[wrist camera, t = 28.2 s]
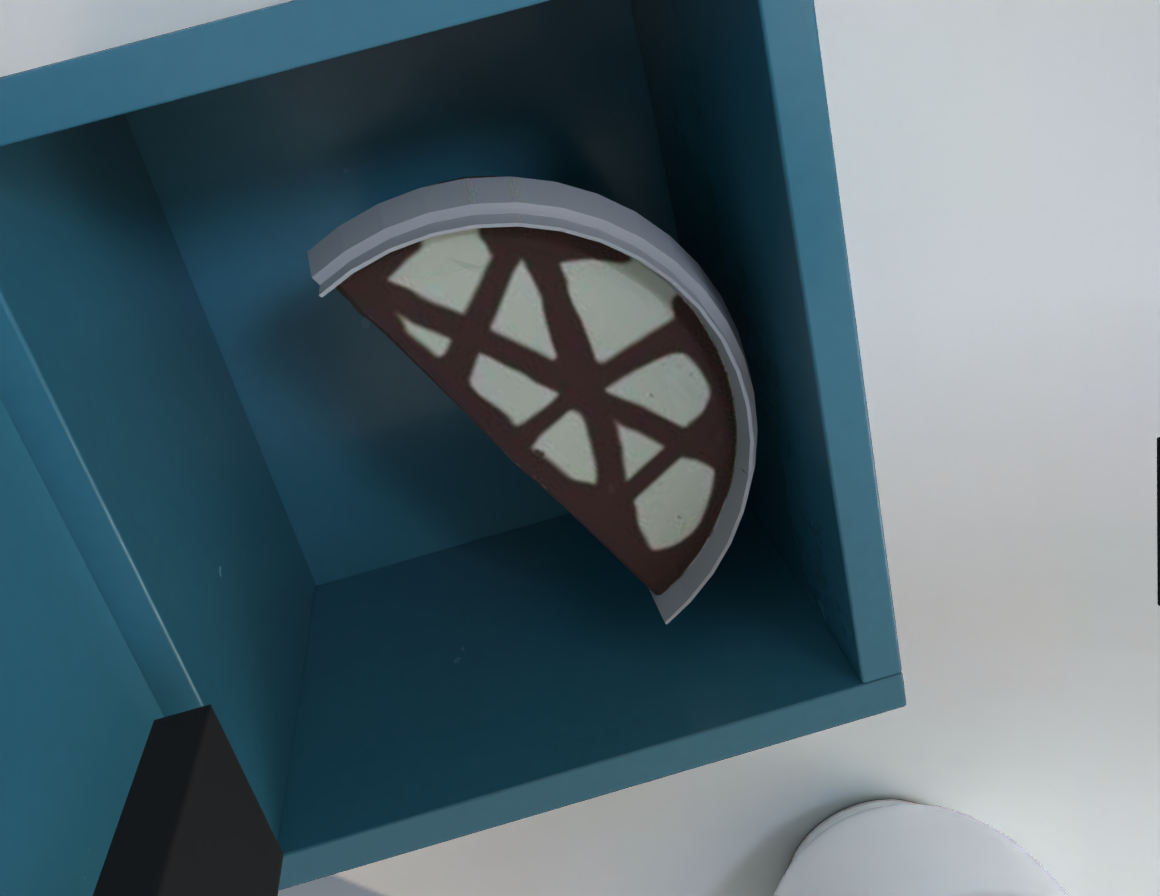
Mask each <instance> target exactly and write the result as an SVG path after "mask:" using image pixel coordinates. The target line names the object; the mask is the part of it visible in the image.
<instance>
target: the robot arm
mask: <svg viewBox="0 0 1160 896" xmlns="http://www.w3.org/2000/svg"><path fill="white" fill-rule="evenodd" d="M1157 544H1158V605H1159V606H1160V437H1159V438H1157ZM283 855H284V854H283V852H282V850H281V848H280V846H279V844H278V842H277V840H276V837H275V835H274V833H273V831H272V829H271V827H270V825H269V823H268V821H267V819H266V817H265V815H264V813H263V811H262V809H261V807H260V805H259V802H258V800H257V798H256V796H255V794H254V792H253V790H252V788H251V786H250V784H249V782H248V780H247V778H246V776H245V774H244V772H243V770H242V768H241V765H240V763H239V761H238V759H237V757H236V755H235V753H234V751H233V749H232V747H231V745H230V743H229V741H228V739H227V737H226V735H225V733H224V730H223V728H222V726H221V724H220V722H219V720H218V718H217V716H216V714H215V712H214V710H213V708H212V706H211V704H210V705H206V706H203V707H199V708H195V709H192V710H188V711H185V712H181V713H178V714H174V715H171V716H167V717H164V718H160V719H156V720H154V722H153V725H152V727H151V730H150V733H149V736H148V739H147V742H146V745H145V747H144V750H143V753H142V756H141V759H140V762H139V765H138V767H137V770H136V773H135V776H134V779H133V782H132V785H131V787H130V790H129V793H128V796H127V799H126V802H125V805H124V807H123V810H122V813H121V816H120V819H119V822H118V825H117V827H116V830H115V833H114V836H113V839H112V842H111V845H110V848H109V850H108V853H107V856H106V859H105V862H104V865H103V868H102V870H101V873H100V876H99V879H98V882H97V885H96V888H95V890H94V893H93V896H277V895H278V888H279V881H280V875H281V868H282V861H283Z"/></svg>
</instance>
